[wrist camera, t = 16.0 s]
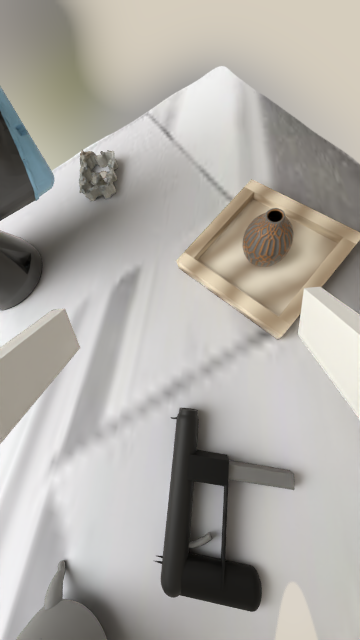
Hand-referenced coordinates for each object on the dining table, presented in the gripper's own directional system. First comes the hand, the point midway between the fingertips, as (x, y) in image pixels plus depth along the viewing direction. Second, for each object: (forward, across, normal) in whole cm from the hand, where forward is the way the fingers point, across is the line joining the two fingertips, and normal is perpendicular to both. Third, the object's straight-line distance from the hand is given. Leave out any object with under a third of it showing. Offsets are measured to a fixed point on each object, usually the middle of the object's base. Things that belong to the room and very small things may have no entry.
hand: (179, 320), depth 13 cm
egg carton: (+45, -19, +12) cm, 50 cm away
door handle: (+5, +2, -28) cm, 29 cm away
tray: (+28, +11, -4) cm, 30 cm away
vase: (+27, +11, -3) cm, 30 cm away
